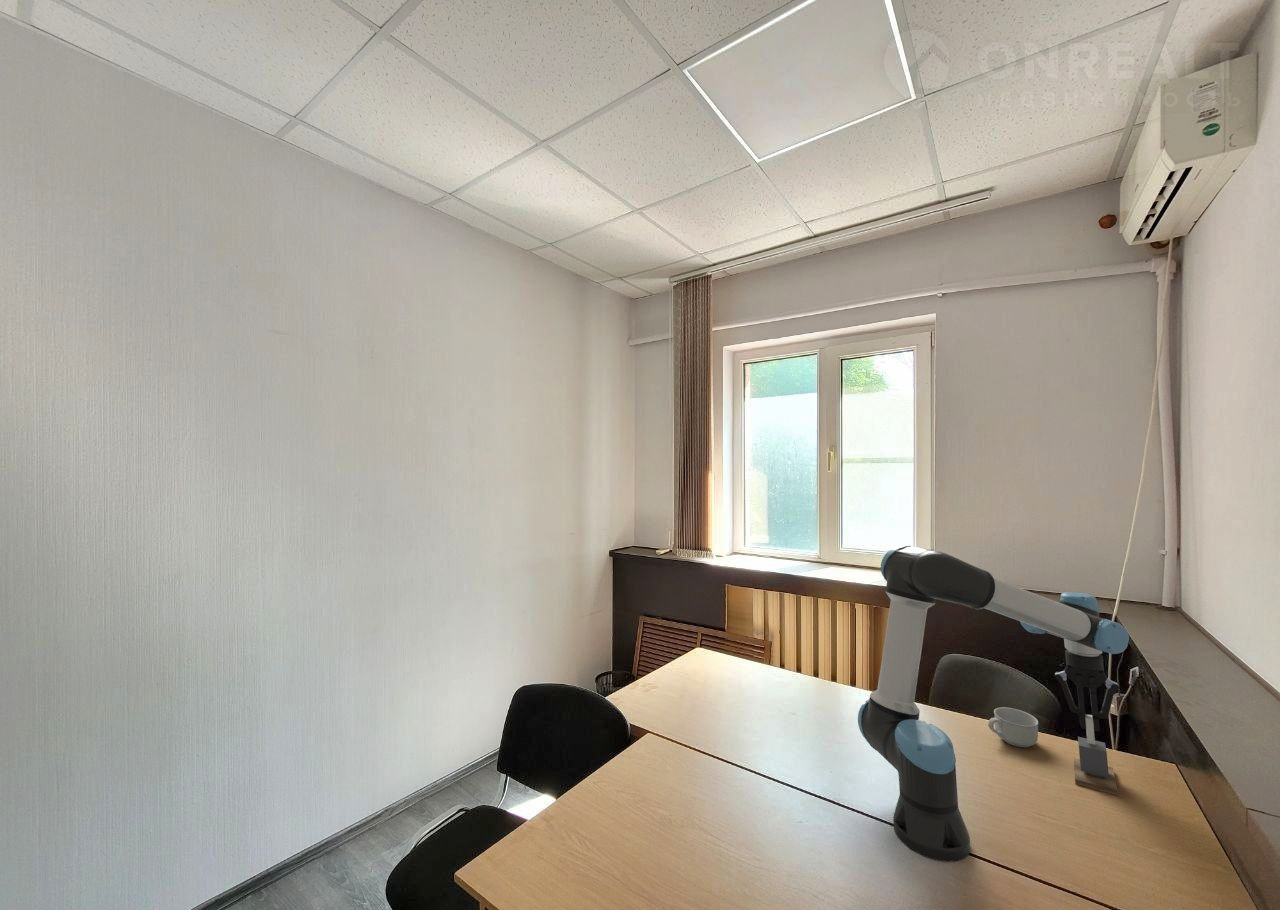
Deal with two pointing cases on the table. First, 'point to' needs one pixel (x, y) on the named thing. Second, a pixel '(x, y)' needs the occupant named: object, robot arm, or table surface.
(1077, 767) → the stand
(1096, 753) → the grey upright block
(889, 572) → the robot arm
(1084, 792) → the table surface
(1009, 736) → the teacup
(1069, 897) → the table surface
